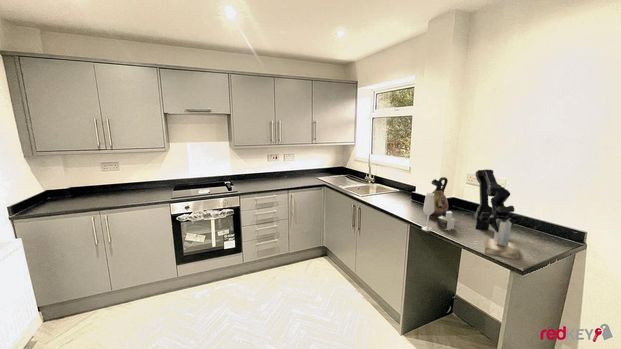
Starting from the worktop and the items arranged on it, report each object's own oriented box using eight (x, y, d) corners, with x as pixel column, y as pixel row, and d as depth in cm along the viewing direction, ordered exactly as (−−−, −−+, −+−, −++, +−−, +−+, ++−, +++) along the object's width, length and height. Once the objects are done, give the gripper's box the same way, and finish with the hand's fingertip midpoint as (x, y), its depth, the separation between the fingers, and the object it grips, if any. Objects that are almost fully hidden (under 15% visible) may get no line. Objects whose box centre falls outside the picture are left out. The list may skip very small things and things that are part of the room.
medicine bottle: (437, 227, 171) (438, 210, 169) (444, 225, 174) (446, 208, 172) (446, 231, 165) (448, 213, 162) (454, 229, 167) (455, 211, 165)
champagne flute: (434, 229, 167) (437, 194, 163) (429, 232, 163) (432, 195, 159) (425, 226, 172) (427, 191, 168) (419, 228, 169) (422, 193, 164)
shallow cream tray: (484, 252, 136) (485, 247, 136) (484, 242, 148) (484, 237, 147) (517, 259, 129) (518, 254, 128) (514, 248, 141) (515, 243, 140)
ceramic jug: (434, 220, 182) (437, 179, 177) (420, 213, 197) (422, 175, 191) (454, 218, 186) (458, 178, 181) (439, 211, 201) (442, 174, 195)
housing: (496, 244, 136) (500, 221, 134) (493, 240, 141) (496, 218, 138) (507, 246, 135) (511, 223, 132) (504, 242, 139) (507, 219, 137)
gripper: (483, 198, 140) (487, 224, 132) (524, 201, 134) (531, 228, 126) (477, 207, 149) (481, 232, 141) (515, 210, 143) (522, 237, 135)
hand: (503, 232), depth 135 cm, fingers closed on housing, 5 cm apart
